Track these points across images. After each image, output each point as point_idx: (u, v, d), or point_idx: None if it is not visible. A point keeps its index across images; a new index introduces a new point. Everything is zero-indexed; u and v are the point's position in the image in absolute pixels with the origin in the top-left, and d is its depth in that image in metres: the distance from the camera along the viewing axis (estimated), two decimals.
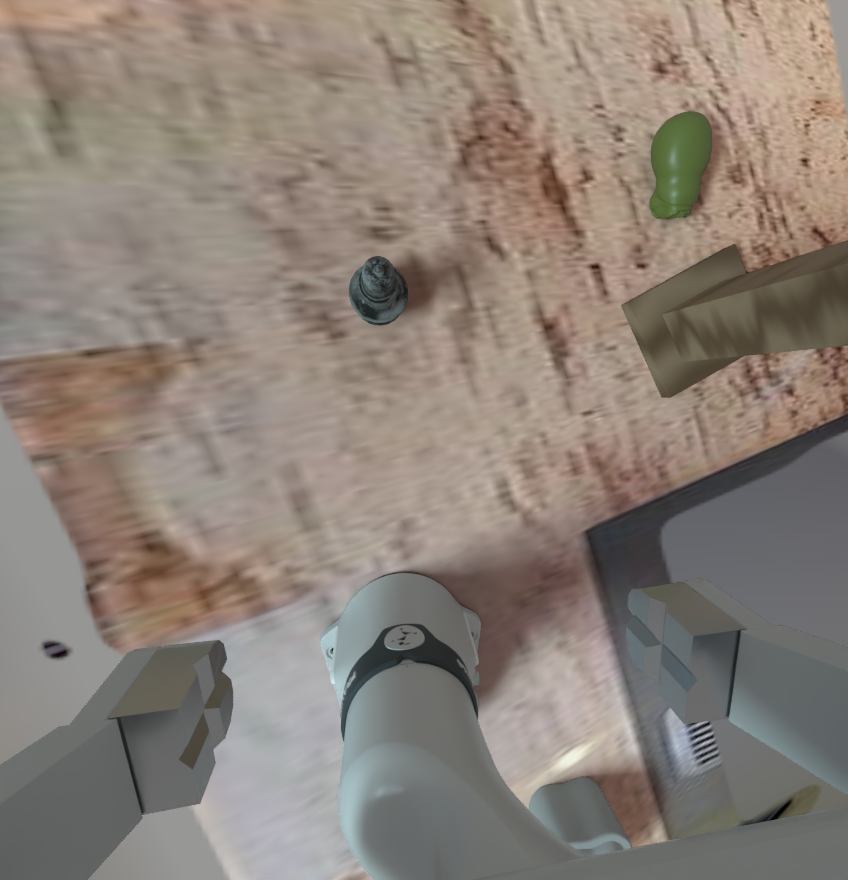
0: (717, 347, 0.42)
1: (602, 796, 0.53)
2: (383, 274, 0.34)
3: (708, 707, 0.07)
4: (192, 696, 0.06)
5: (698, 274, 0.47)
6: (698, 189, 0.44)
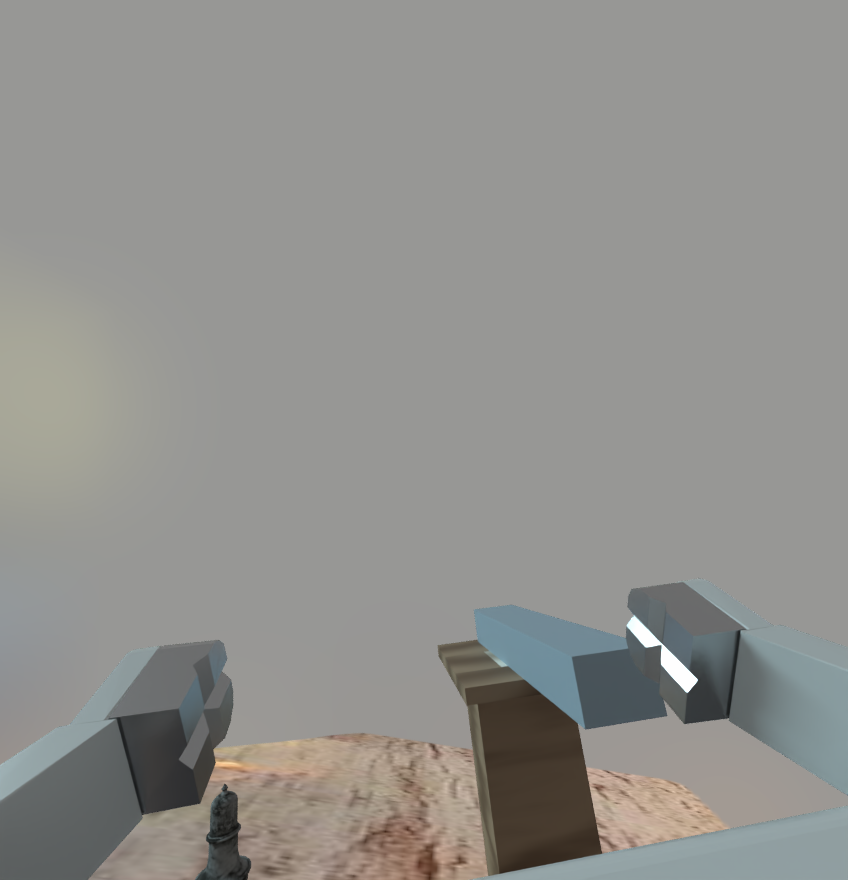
0: None
1: None
2: (224, 795, 0.48)
3: (708, 707, 0.07)
4: (192, 696, 0.06)
5: None
6: None
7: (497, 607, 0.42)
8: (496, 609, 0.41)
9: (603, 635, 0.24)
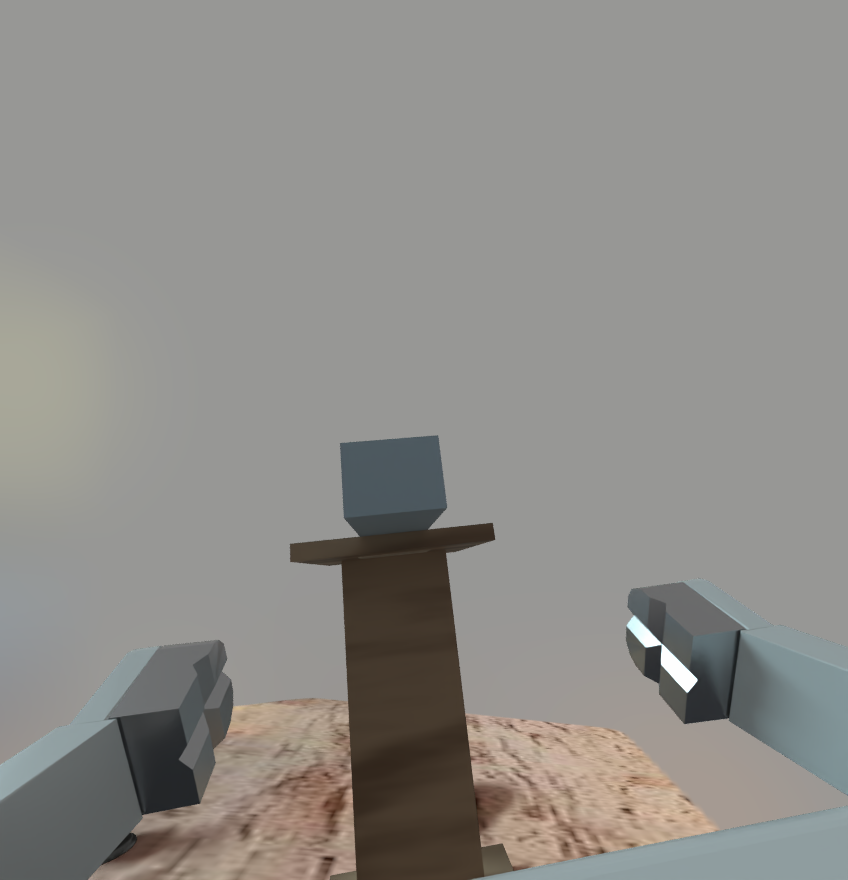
0: None
1: None
2: None
3: (708, 707, 0.07)
4: (192, 696, 0.06)
5: None
6: None
7: None
8: None
9: None
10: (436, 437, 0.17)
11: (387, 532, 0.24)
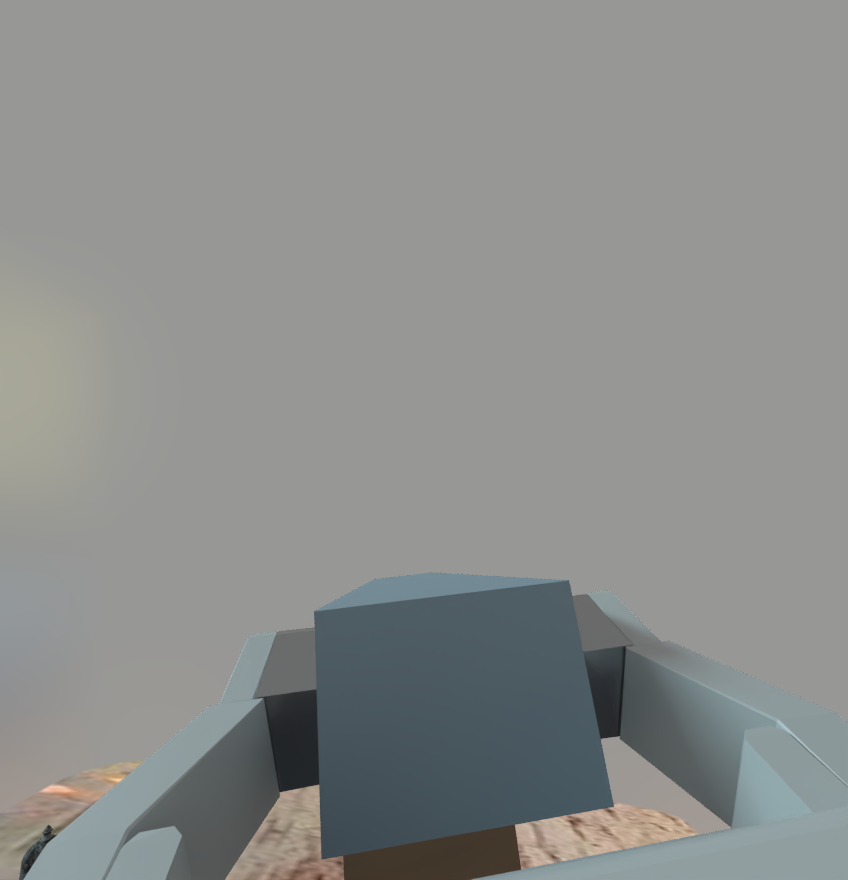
0: None
1: None
2: (45, 841, 0.35)
3: (598, 725, 0.07)
4: None
5: None
6: None
7: (407, 575, 0.29)
8: (401, 576, 0.27)
9: (487, 579, 0.10)
10: (565, 587, 0.07)
11: None
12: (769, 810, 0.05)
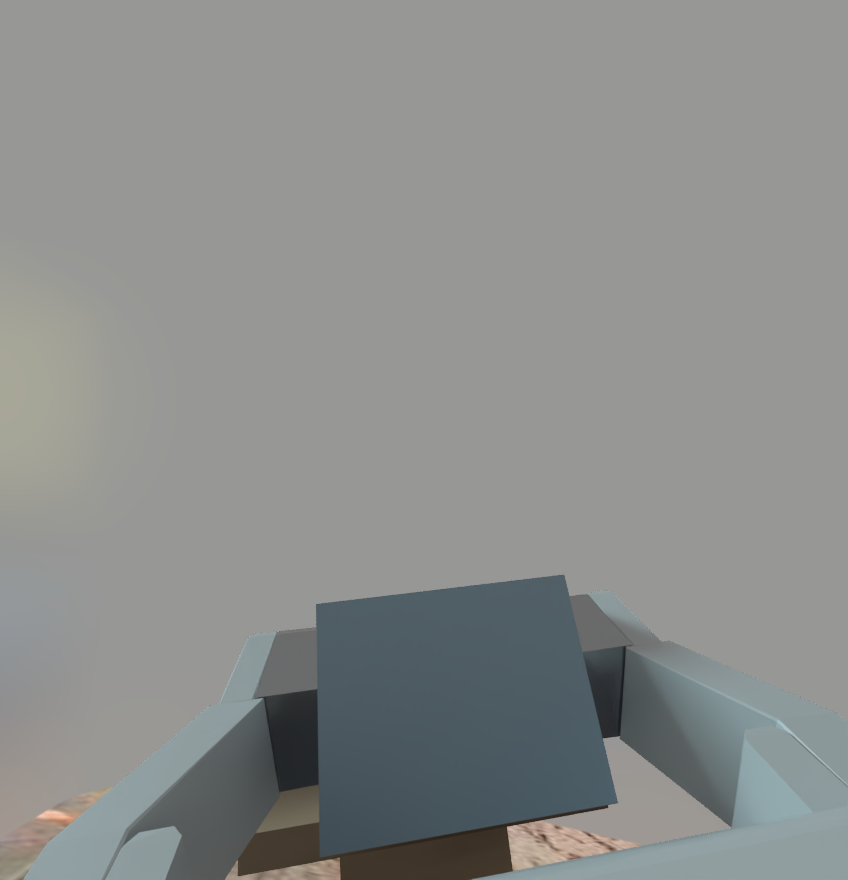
0: None
1: None
2: None
3: None
4: None
5: None
6: None
7: None
8: None
9: None
10: (561, 580, 0.07)
11: None
12: (769, 810, 0.05)
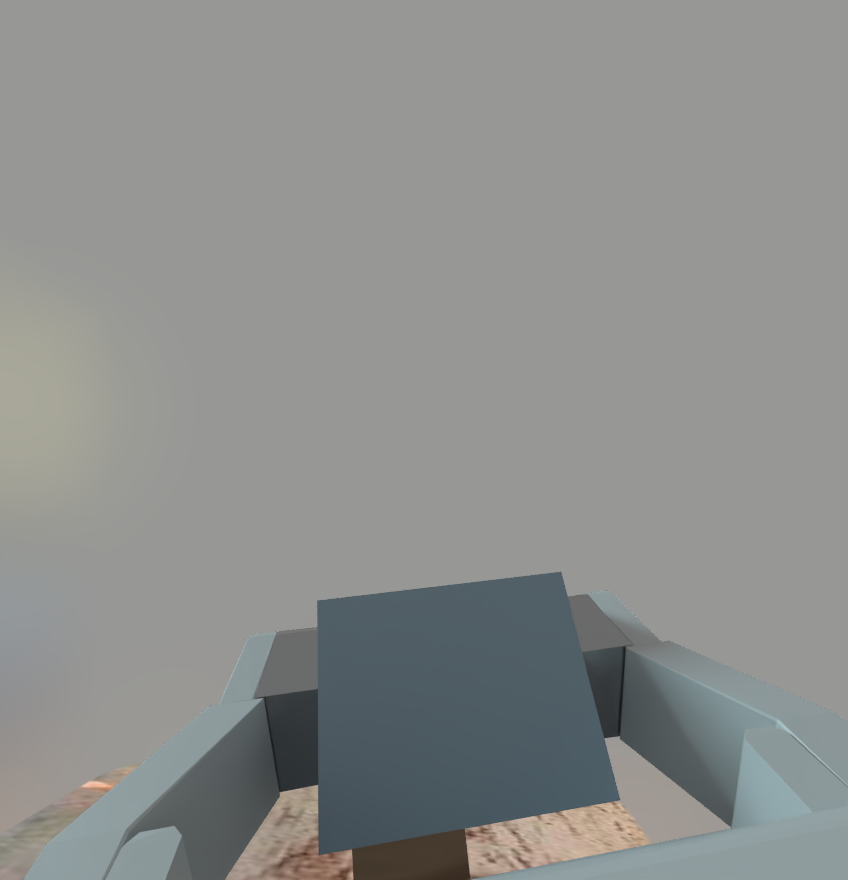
0: None
1: None
2: None
3: None
4: None
5: None
6: None
7: None
8: None
9: None
10: (558, 578, 0.07)
11: None
12: (769, 810, 0.05)
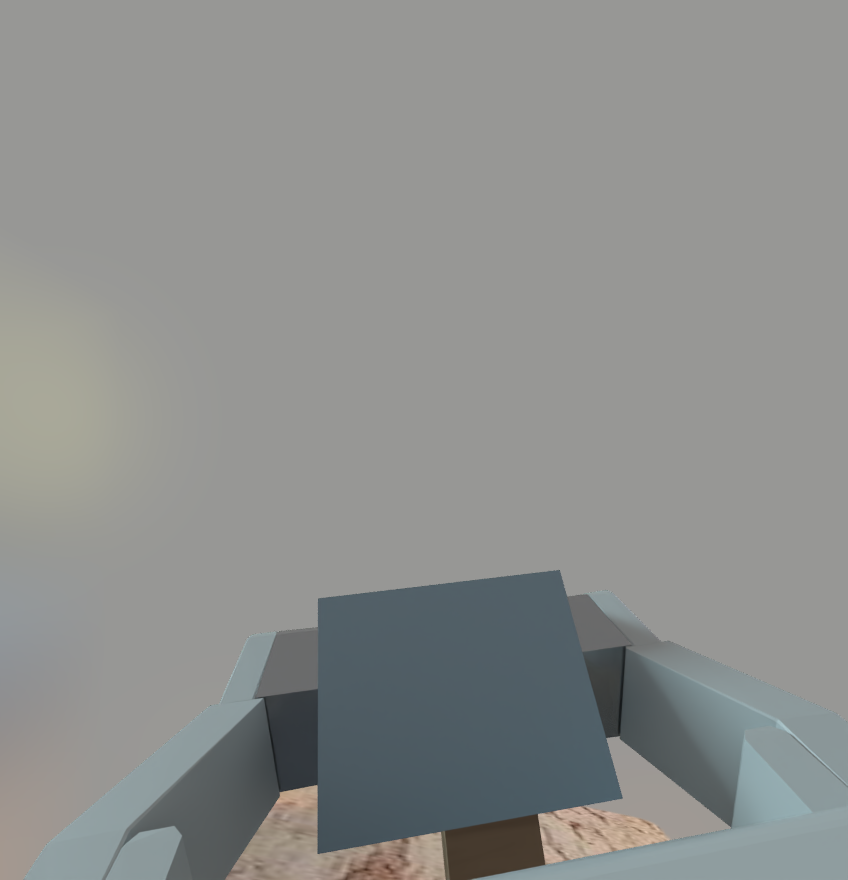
0: None
1: None
2: None
3: None
4: None
5: None
6: None
7: None
8: None
9: None
10: (557, 575, 0.07)
11: None
12: (769, 810, 0.05)
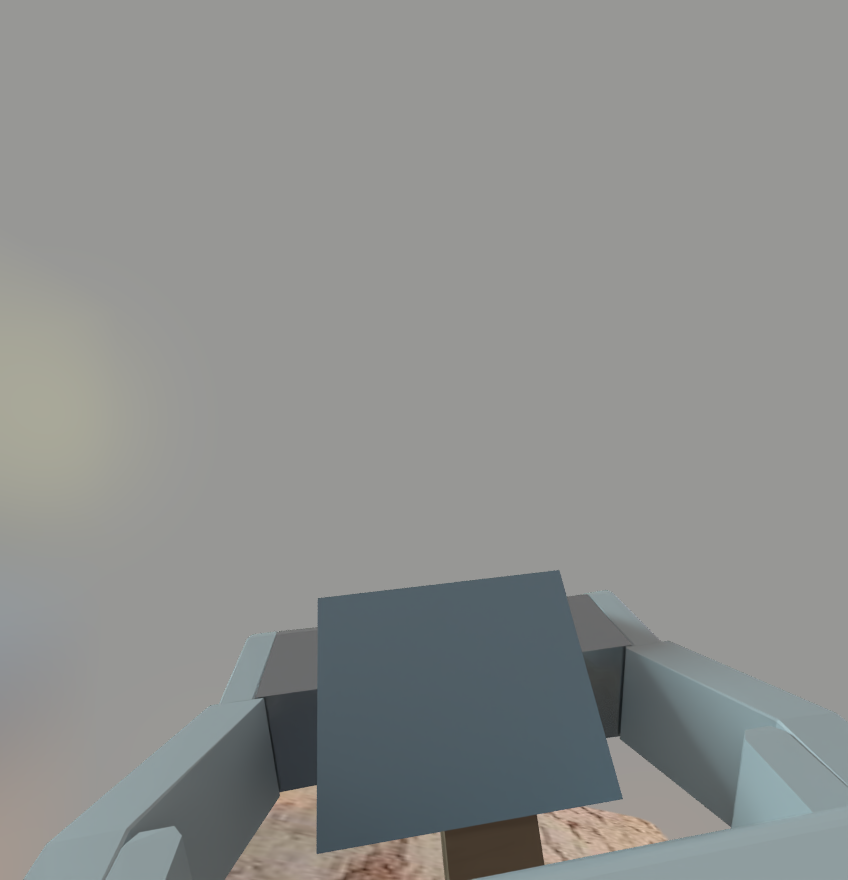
0: None
1: None
2: None
3: None
4: None
5: None
6: None
7: None
8: None
9: None
10: (556, 576, 0.07)
11: None
12: (769, 810, 0.05)
